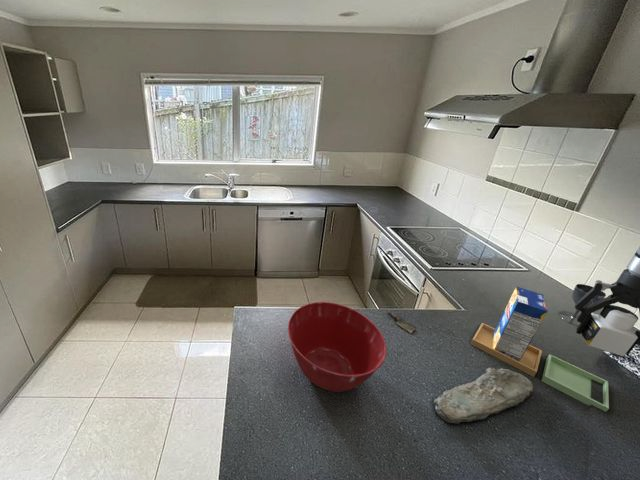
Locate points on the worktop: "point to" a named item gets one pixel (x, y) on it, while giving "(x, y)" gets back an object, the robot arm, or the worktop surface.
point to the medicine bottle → (611, 330)
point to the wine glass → (576, 296)
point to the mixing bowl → (335, 345)
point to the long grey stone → (483, 396)
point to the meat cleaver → (401, 323)
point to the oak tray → (526, 364)
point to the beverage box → (519, 323)
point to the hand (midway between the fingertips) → (601, 340)
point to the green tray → (573, 381)
